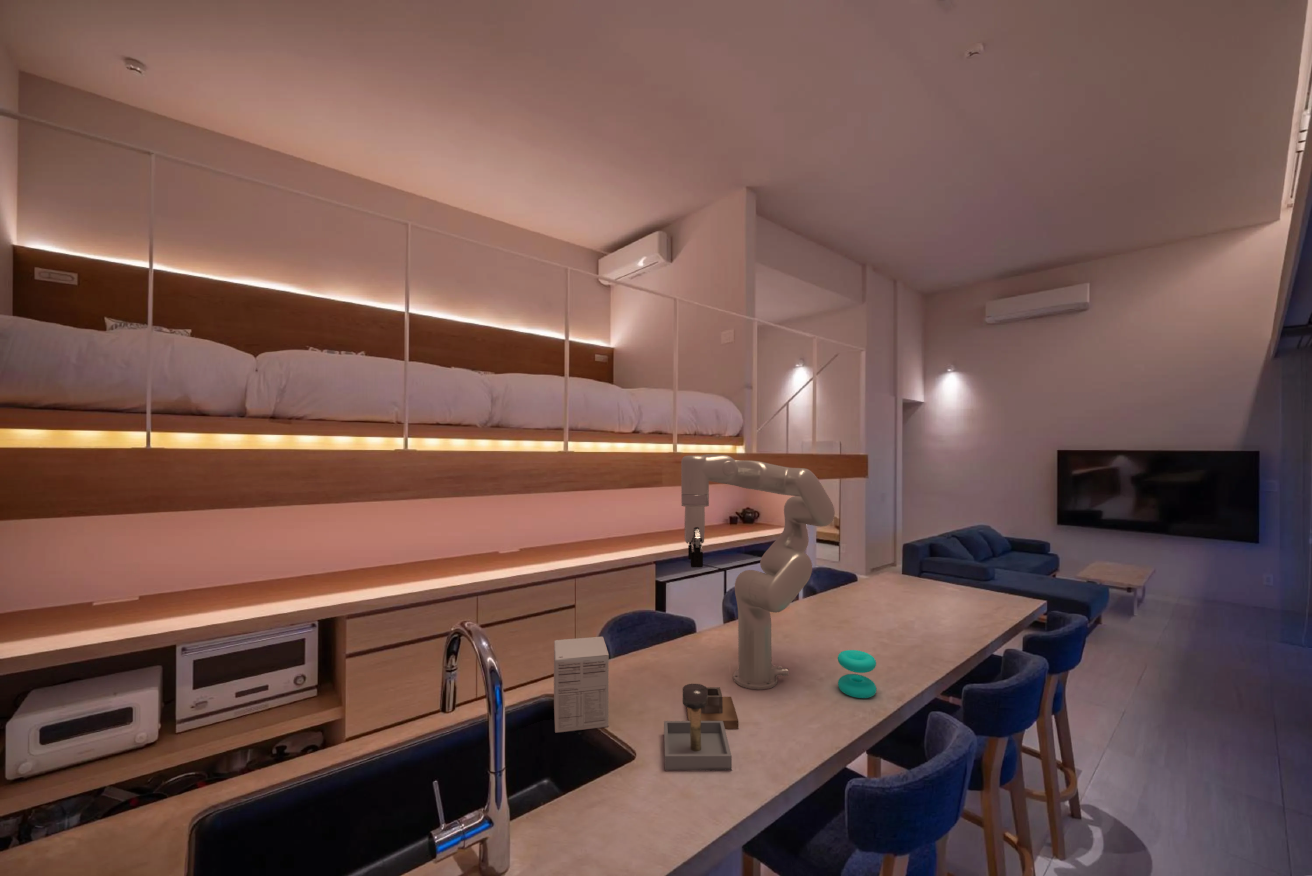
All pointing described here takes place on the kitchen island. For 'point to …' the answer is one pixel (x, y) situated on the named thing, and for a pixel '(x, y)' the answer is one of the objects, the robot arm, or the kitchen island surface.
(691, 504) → the robot arm
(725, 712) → the eye block
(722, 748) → the tray
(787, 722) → the kitchen island surface
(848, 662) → the donuts
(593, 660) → the supplement box
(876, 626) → the kitchen island surface
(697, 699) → the tan peg with head
